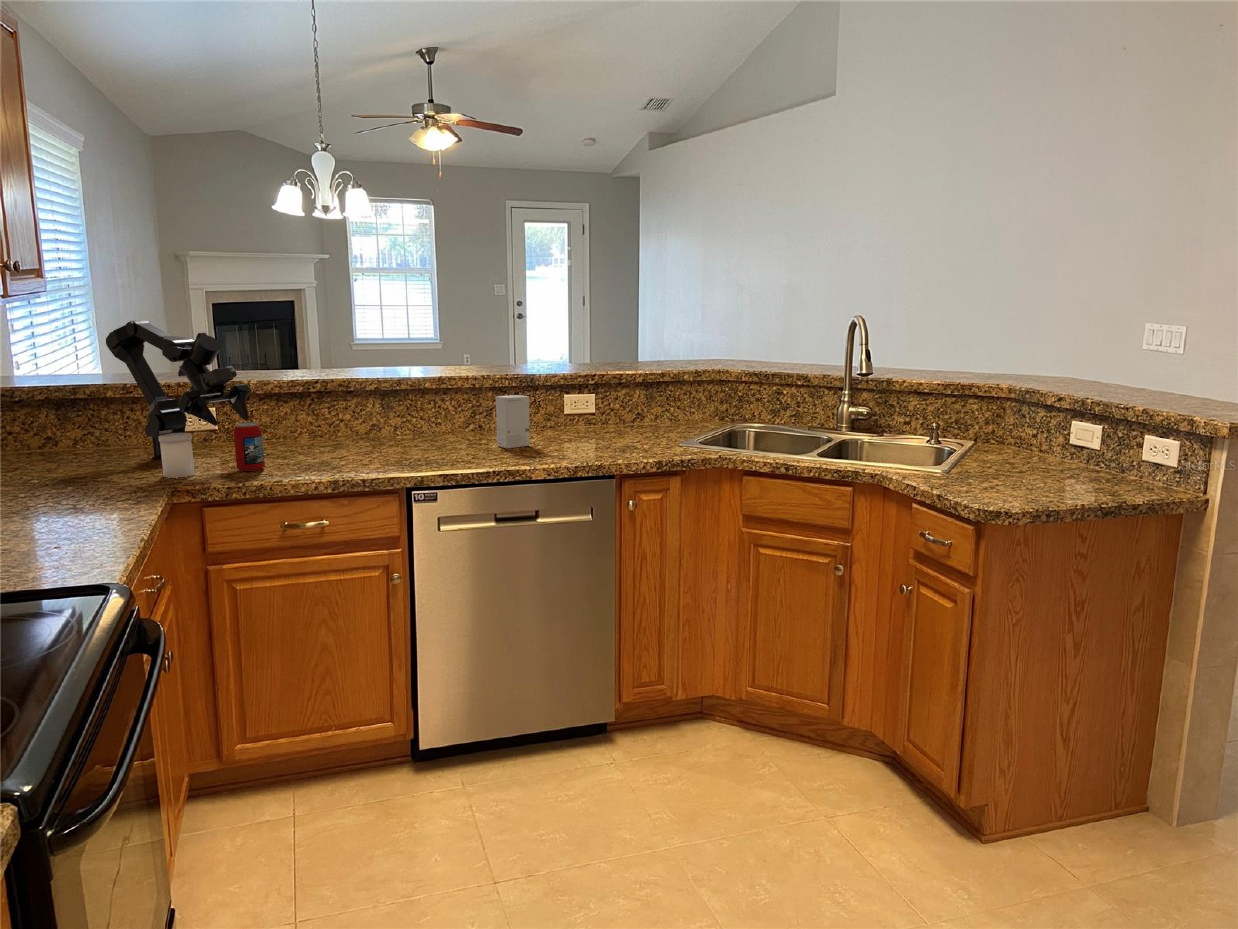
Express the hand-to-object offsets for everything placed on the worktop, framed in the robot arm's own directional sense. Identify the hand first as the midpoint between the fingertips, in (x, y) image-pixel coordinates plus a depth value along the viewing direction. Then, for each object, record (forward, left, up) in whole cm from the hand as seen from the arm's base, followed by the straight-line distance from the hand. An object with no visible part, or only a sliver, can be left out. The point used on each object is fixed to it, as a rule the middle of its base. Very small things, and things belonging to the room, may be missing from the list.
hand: (232, 422), depth 232 cm
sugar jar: (-11, -8, -12) cm, 18 cm away
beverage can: (+5, -3, -12) cm, 13 cm away
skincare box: (+72, +23, -12) cm, 76 cm away
